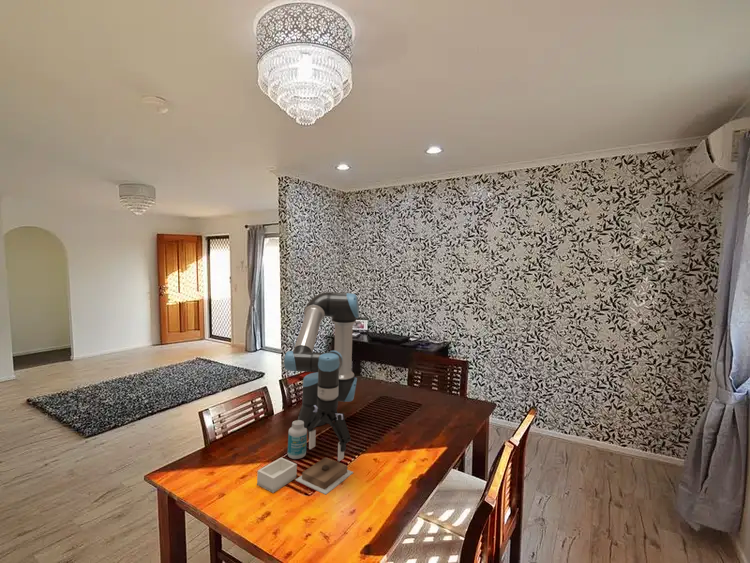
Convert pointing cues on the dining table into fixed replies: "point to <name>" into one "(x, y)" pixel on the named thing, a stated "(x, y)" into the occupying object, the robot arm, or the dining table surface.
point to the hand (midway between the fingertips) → (326, 453)
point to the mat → (327, 487)
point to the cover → (324, 473)
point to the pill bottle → (297, 440)
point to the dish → (276, 474)
